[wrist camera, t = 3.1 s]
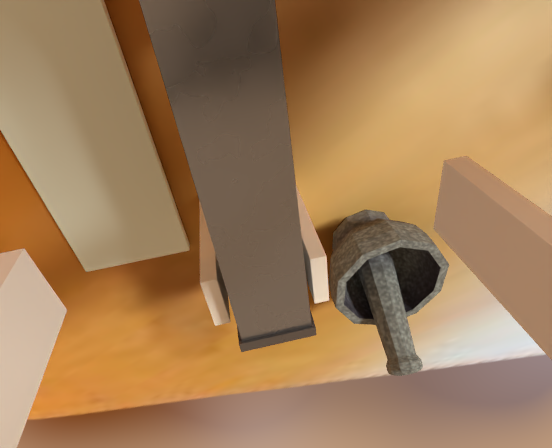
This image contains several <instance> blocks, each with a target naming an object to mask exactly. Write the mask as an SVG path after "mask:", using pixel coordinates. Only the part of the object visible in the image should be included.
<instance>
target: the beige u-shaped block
mask: <svg viewBox="0 0 552 448" xmlns="http://www.w3.org/2000/svg"><path fill="white" fill-rule="evenodd" d="M296 191H297V200H298V209H299V218H300V227H301V236H302V244H303V253H304V262H305V271H306V279H307V282H308V285H309V288H310V291H311V294H312V297H313V300H314V303H320V302H324V301H329V289H328V273H327V257H326V254H325V251H324V249H323V247H322V244H321V242H320V240H319V238H318V235H317V233H316V231H315V228H314V226H313V224H312V221H311V219H310V217H309V214H308V212H307V210H306V207H305V205H304V203H303V200H302V198H301V196H300V193H299V191H298V189H297V186H296ZM200 285H201V287H202V290H203V293H204V296H205V299H206V301H207V304H208V307H209V310H210V312H211V315H212V318H213V321H214V324H215V326H216V325H221V324H225V323H230V313H229V302H228V293H227V290H226V287H225V283H224V280H223V277H222V273H221V270H220V267H219V263H218V260H217V257H216V253H215V250H214V247H213V244H212V240H211V237H210V234H209V230H208V227H207V224H206V220H205V217H204V214H203V210H202V207H201V204H200Z"/></svg>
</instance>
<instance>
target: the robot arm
mask: <svg viewBox="0 0 552 448" xmlns="http://www.w3.org/2000/svg"><path fill="white" fill-rule="evenodd" d="M434 230H435V231H436V232H437V233H438V234H439V235H440V237H441V238H442V239H443V240H444V241H445V242H446V243H447V244H448V245H449V247H450V248H451V249H452V250H453V251H454V252H455V253H456V254H457V255H458V257H459V258H460V259H461V260H462V261H463V262H464V263H465V264H466V265H467V267H468V268H469V269H470V270H471V271H472V272H473V273H474V274H475V275H476V277H477V278H478V279H479V280H480V281H481V282H482V283H483V284H484V285H485V287H486V288H487V289H488V290H489V291H490V292H491V293H492V294H493V295H494V297H495V298H496V299H497V300H498V301H499V302H500V303H501V304H502V305H503V307H504V308H505V309H506V310H507V311H508V312H509V313H510V314H511V315H512V317H513V318H514V319H515V320H516V321H517V322H518V323H519V324H520V325H521V327H522V328H523V329H524V330H525V331H526V332H527V333H528V334H529V335H530V337H531V338H532V339H533V340H534V341H535V342H536V343H537V344H538V345H539V347H540V348H541V349H542V350H543V351H544V352H545V353H546V354H547V355H548V356H549V357H550V359H551V360H552V216H551V215H549V214H548V213H546V212H545V211H544V210H542V209H541V208H539V207H538V206H536V205H535V204H534V203H532V202H531V201H529V200H528V199H527V198H525V197H524V196H522V195H521V194H520V193H518V192H517V191H515V190H514V189H512V188H511V187H510V186H508V185H507V184H505V183H504V182H503V181H501V180H500V179H498V178H497V177H496V176H494V175H493V174H491V173H490V172H488V171H487V170H486V169H484V168H483V167H481V166H480V165H479V164H477V163H476V162H474V161H473V160H472V159H470V158H469V157H467V156H464V157H459V158H454V159H449V160H444V163H443V170H442V176H441V183H440V190H439V196H438V203H437V209H436V216H435V222H434ZM66 312H67V309H66V308H65V306H64V305H63V303H62V302H61V300H60V299H59V298H58V296H57V295H56V293H55V292H54V290H53V289H52V288H51V286H50V285H49V283H48V282H47V280H46V279H45V278H44V276H43V275H42V273H41V272H40V270H39V269H38V268H37V266H36V265H35V263H34V262H33V260H32V259H31V257H30V256H29V255H28V253H27V252H26V250H25V249H24V248H23V249H18V250H14V251H9V252H4V253H0V448H17V446H18V443H19V440H20V437H21V435H22V432H23V429H24V426H25V424H26V421H27V418H28V416H29V413H30V410H31V407H32V405H33V402H34V399H35V396H36V394H37V391H38V388H39V386H40V383H41V380H42V377H43V375H44V372H45V369H46V366H47V364H48V361H49V358H50V356H51V353H52V350H53V347H54V345H55V342H56V339H57V336H58V334H59V331H60V328H61V325H62V323H63V320H64V317H65V315H66Z"/></svg>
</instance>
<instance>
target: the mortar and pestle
mask: <svg viewBox="0 0 552 448" xmlns="http://www.w3.org/2000/svg"><path fill="white" fill-rule="evenodd" d="M332 249H333V252H332V255H331V259H330V275H329V285H330V291H331V297H332V299H333V302H334V304H335V307H336V308H337V309H338V310H339V311H340V312H341V313H343V314H344V315H345V316H346V317H347V318H348V319H349V320H351V321H352V322H353V323H354V324H372V325H376V326H377V329H378V332H379V335H380V338H381V341H382V344H383V347H384V350H385V353H386V356H387V359H388V361H387V365H386V367H387V371H388V373H389V374H391V375H396V376H402V375H408V374H413V373H415V372H418V371H419V370H421V369H422V367H423V365H422V362H421V359H420V358H419V357H418V356H417V355H416V353H415V349H414V345H413V340H412V336H411V332H410V328H409V324H408V320H407V316H410V315H413V314H415V313H417V312H418V311H419V310H420V309H421V308H422V307H424V306H425V305H426V304H427V303H428V302H429V301H430V300H431V299H432V298H434V297H435V296H436V295H437V294H438V293H439V292H440V291H441V289H442V286H443V283H444V279H445V276H446V273H447V270H448V267H449V264H448V262H447V261H446V259H445V258H444V256H443V255H442V254H441V252H440V251H439V249H438V248H437V246H436V245H435V244H434V242H433V241H432V240H431V239H430V238H429V236H428V235H427V234H426V233H425V232H423V231H422V230H421V229H420V228H418V227H417V226H416V225H413V224H409V223H405V222H400V221H393V220H389V219H388V217H387V216H386V215H385V213H384V212H377V211H371V210H364V211H361V212H359V213H356V214H354V215H351V216H349V217H346V218H345V219H344V221H343V222H342V223H341V224H340V225H339V226H338V228H337V229H336V230H335V231H334V232H333V245H332Z"/></svg>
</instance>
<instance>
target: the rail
mask: <svg viewBox="0 0 552 448" xmlns="http://www.w3.org/2000/svg"><path fill="white" fill-rule="evenodd" d="M139 2H140V5H141V9H142V12H143V15H144V19H145V22H146V25H147V28H148V32H149V35H150V38H151V42H152V45H153V48H154V52H155V55H156V58H157V62H158V65H159V68H160V71H161V75H162V78H163V81H164V85H165V88H166V91H167V95H168V98H169V101H170V105H171V108H172V111H173V114H174V118H175V121H176V124H177V128H178V131H179V134H180V138H181V141H182V144H183V148H184V151H185V154H186V157H187V161H188V164H189V167H190V171H191V174H192V177H193V181H194V184H195V187H196V191H197V194H198V197H199V200H200V204H201V207H202V210H203V214H204V217H205V220H206V224H207V227H208V230H209V234H210V237H211V240H212V244H213V247H214V250H215V253H216V257H217V260H218V263H219V267H220V270H221V273H222V277H223V280H224V283H225V287H226V290H227V293H228V296H229V300H230V303H231V306H232V310H233V313H234V316H235V320H236V323H237V329H238V338H239V346H240V349H241V352H244V351H248V350H253V349H257V348H261V347H266V346H270V345H275V344H279V343H283V342H288V341H292V340H297V339H301V338H305V337H310V336H314V335H316V327H315V324H314V321H313V318H312V315H311V311H310V306H309V297H308V289H307V280H306V271H305V262H304V253H303V244H302V236H301V227H300V218H299V209H298V200H297V191H296V183H295V174H294V165H293V156H292V147H291V138H290V129H289V121H288V112H287V103H286V94H285V85H284V76H283V68H282V59H281V50H280V41H279V32H278V23H277V15H276V6H275V0H139Z"/></svg>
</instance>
